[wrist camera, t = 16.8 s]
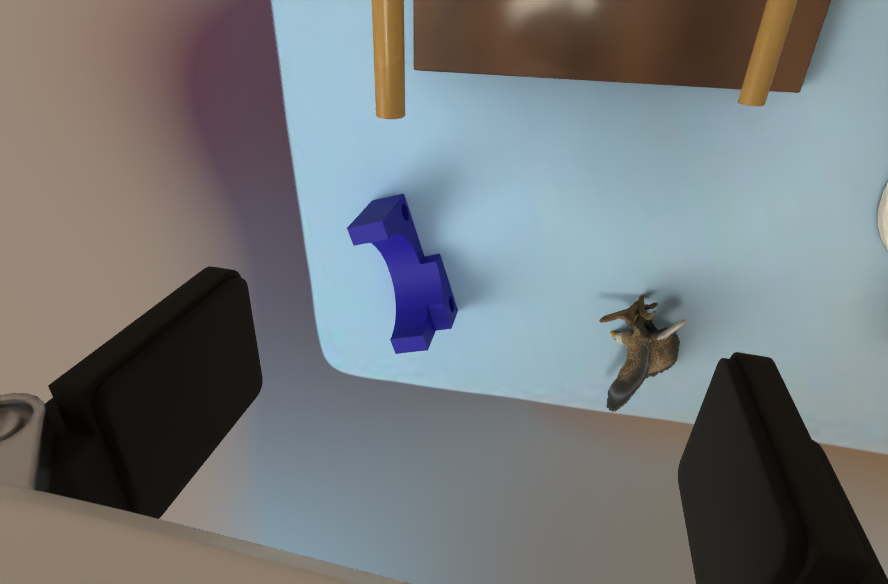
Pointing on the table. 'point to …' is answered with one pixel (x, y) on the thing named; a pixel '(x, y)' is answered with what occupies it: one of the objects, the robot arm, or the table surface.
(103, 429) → the robot arm
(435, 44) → the rack
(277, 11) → the table surface
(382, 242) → the cable clip
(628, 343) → the eagle figurine
